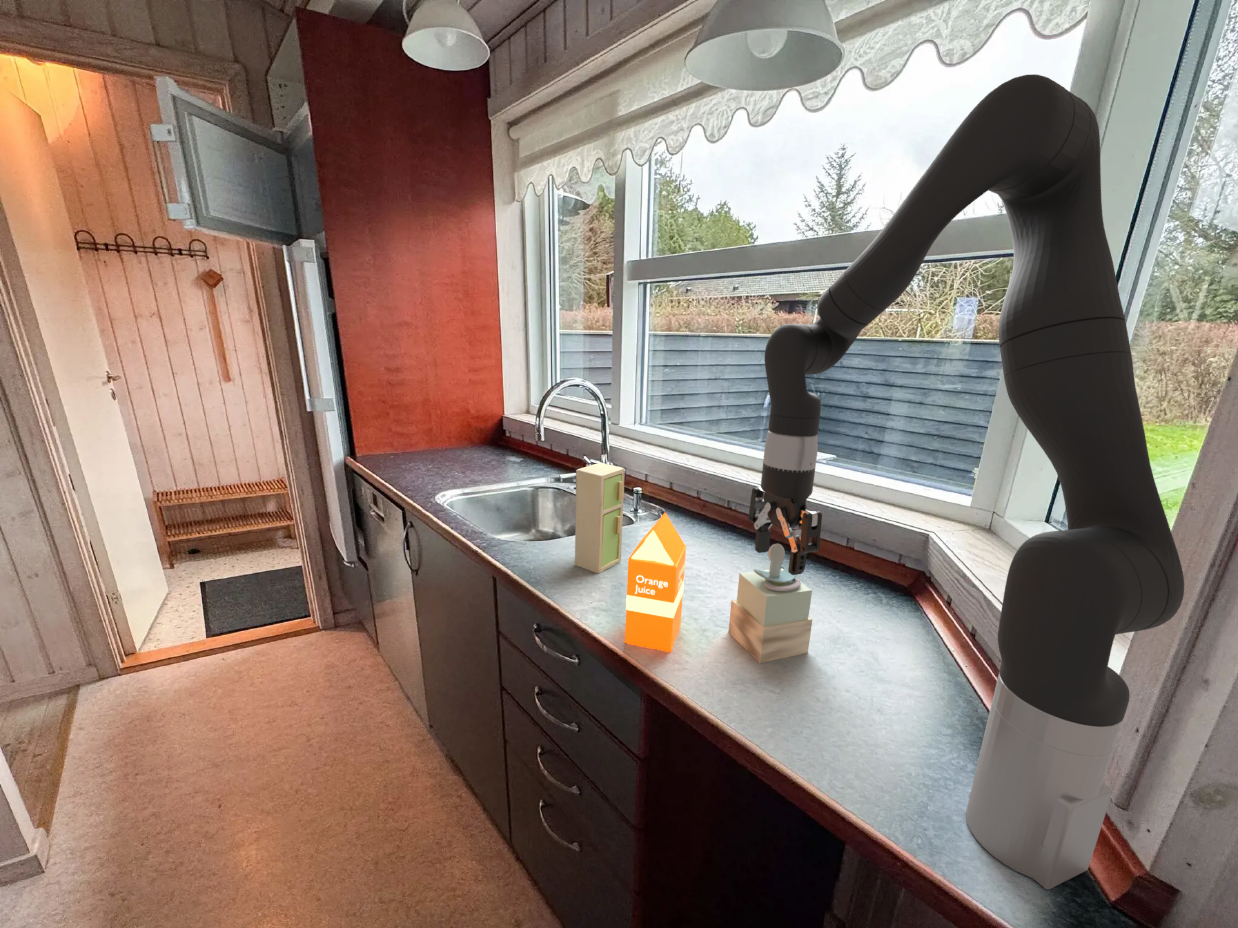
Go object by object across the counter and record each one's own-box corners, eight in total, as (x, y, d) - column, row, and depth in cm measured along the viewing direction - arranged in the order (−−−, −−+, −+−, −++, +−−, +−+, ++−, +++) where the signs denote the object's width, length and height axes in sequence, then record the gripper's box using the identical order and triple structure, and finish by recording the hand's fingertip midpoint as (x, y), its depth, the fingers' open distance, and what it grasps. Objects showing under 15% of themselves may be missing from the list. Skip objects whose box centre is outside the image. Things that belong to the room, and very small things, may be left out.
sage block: (808, 619, 84) (812, 590, 83) (763, 626, 82) (766, 596, 81) (778, 595, 92) (781, 568, 90) (736, 600, 89) (739, 573, 88)
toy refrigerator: (601, 575, 110) (603, 475, 104) (573, 565, 114) (575, 469, 109) (624, 562, 116) (628, 468, 111) (597, 553, 120) (600, 462, 115)
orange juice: (681, 624, 93) (689, 514, 88) (671, 652, 84) (679, 533, 79) (637, 616, 95) (642, 508, 90) (623, 643, 87) (628, 526, 82)
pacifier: (809, 588, 84) (781, 571, 89) (815, 551, 82) (786, 536, 87) (774, 597, 80) (747, 579, 86) (779, 559, 79) (752, 543, 84)
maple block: (807, 652, 86) (812, 619, 84) (760, 663, 83) (764, 628, 81) (773, 624, 94) (776, 592, 92) (728, 632, 91) (731, 600, 89)
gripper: (843, 472, 76) (828, 578, 80) (780, 450, 89) (770, 542, 93) (800, 476, 73) (786, 585, 77) (741, 452, 86) (732, 547, 90)
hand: (777, 562), depth 85 cm, fingers open, 8 cm apart
